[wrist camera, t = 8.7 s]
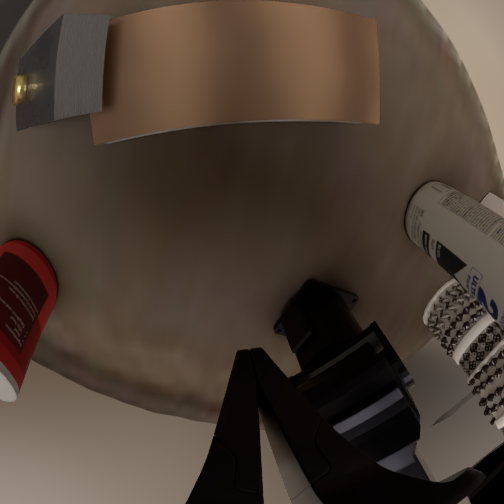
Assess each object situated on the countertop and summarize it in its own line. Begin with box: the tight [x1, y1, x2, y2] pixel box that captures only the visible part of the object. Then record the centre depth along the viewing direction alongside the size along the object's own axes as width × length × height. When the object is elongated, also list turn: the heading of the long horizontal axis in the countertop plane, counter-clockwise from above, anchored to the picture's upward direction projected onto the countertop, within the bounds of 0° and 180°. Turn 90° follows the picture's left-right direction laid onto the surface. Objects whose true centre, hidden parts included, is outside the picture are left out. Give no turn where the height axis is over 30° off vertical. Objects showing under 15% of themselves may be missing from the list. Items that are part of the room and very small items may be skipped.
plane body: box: [90, 0, 380, 146], centre depth 12 cm, size 17×8×4 cm, turn 92°
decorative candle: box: [422, 278, 504, 435], centre depth 20 cm, size 9×9×25 cm
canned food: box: [0, 240, 57, 402], centre depth 13 cm, size 8×8×11 cm
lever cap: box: [12, 13, 110, 131], centre depth 8 cm, size 8×5×3 cm
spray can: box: [405, 181, 504, 330], centre depth 13 cm, size 7×7×20 cm
